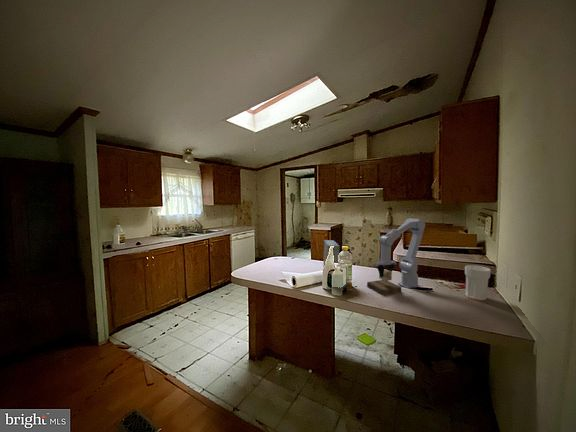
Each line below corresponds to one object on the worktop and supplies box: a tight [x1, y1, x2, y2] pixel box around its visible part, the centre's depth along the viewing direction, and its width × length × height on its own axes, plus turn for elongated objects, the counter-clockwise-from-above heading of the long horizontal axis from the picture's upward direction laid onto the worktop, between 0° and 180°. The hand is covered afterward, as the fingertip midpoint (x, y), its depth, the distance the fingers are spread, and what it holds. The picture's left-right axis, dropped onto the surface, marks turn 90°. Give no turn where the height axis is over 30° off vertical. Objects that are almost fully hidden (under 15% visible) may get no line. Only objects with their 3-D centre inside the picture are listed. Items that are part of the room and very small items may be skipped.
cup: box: [464, 264, 492, 302], centre depth 131 cm, size 11×11×17 cm
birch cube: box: [378, 269, 393, 281], centre depth 143 cm, size 5×5×5 cm
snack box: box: [322, 239, 340, 268], centre depth 166 cm, size 22×9×26 cm, turn 179°
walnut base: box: [366, 279, 402, 296], centre depth 145 cm, size 14×14×3 cm
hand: (385, 276), depth 144 cm, fingers closed on birch cube, 5 cm apart
